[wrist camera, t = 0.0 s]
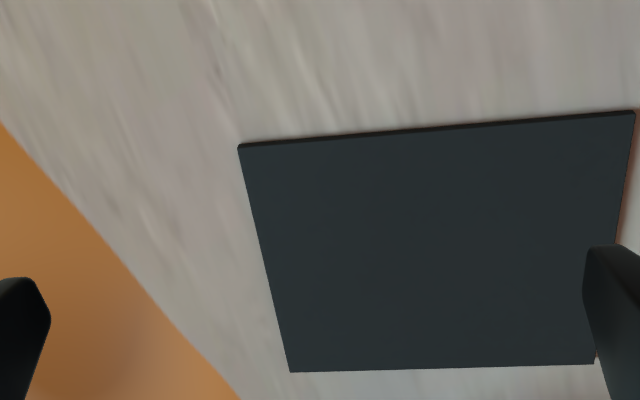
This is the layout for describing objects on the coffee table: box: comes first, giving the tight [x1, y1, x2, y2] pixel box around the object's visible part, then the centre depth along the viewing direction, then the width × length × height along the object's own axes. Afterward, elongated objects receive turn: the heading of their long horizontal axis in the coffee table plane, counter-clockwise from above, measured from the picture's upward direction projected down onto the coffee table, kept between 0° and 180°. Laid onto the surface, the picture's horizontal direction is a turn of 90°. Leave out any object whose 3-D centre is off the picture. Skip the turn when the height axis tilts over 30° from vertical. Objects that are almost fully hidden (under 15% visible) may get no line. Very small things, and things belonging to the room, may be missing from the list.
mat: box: [237, 110, 636, 373], centre depth 27 cm, size 14×16×1 cm
